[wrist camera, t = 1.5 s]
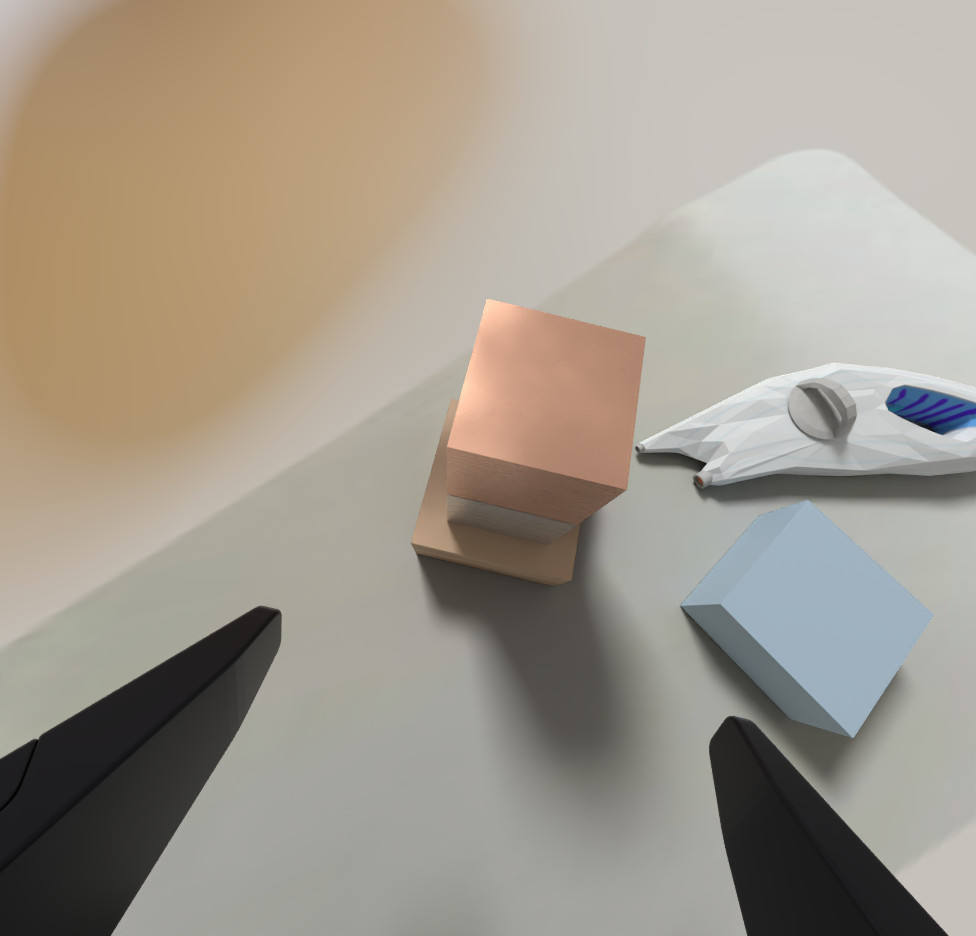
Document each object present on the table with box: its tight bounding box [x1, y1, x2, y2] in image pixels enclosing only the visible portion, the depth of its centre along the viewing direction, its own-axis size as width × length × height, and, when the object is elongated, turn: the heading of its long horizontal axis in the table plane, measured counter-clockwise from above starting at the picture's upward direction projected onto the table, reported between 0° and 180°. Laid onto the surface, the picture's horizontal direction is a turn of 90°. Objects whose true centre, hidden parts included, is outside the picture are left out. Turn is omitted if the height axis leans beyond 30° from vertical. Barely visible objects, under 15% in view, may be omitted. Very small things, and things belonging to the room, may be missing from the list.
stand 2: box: [680, 500, 934, 738], centre depth 21 cm, size 7×7×4 cm
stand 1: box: [411, 399, 581, 586], centre depth 22 cm, size 7×7×4 cm
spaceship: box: [635, 363, 976, 488], centre depth 25 cm, size 23×7×4 cm, turn 94°
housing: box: [447, 299, 646, 545], centre depth 16 cm, size 4×4×9 cm
